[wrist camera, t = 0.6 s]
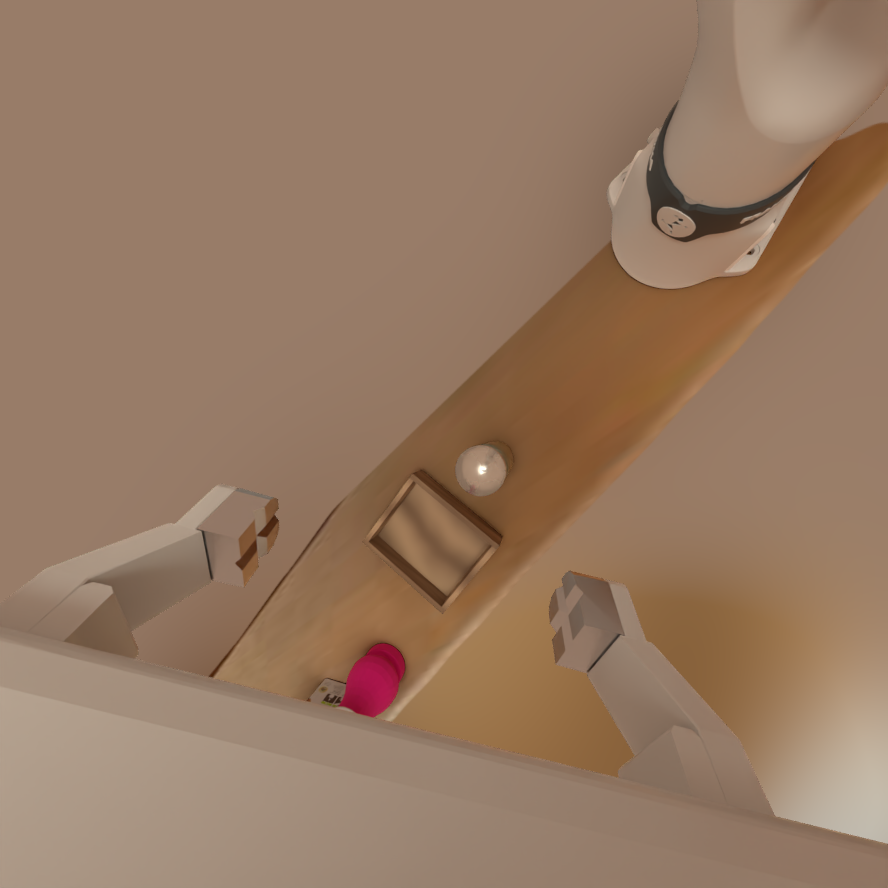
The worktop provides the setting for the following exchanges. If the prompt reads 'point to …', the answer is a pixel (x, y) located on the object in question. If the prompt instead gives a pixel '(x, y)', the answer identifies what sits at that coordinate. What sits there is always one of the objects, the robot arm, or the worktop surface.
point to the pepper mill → (373, 681)
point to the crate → (432, 540)
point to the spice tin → (484, 467)
